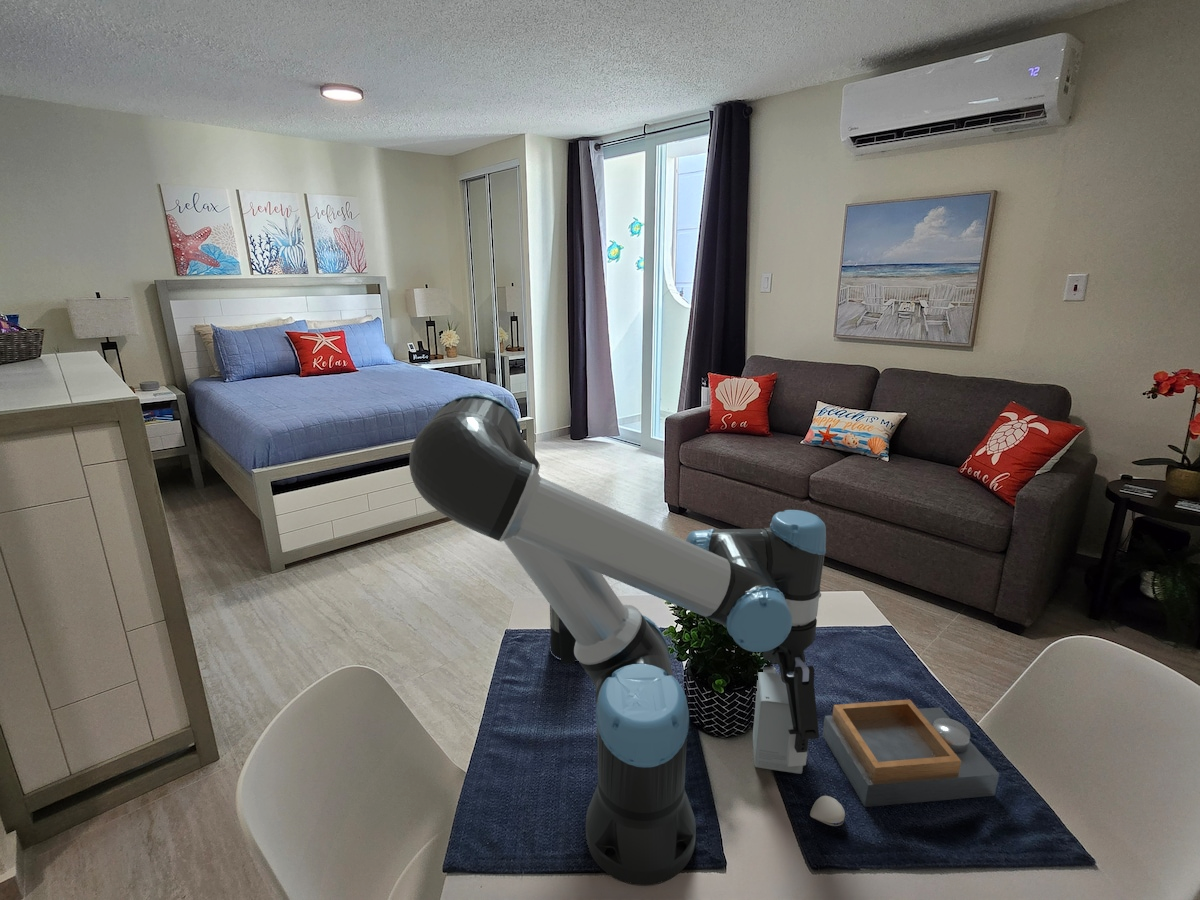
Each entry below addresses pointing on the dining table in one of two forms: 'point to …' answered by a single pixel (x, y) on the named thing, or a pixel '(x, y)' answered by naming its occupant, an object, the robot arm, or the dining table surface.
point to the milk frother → (561, 639)
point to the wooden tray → (906, 754)
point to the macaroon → (828, 811)
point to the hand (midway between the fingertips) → (778, 730)
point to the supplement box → (772, 724)
